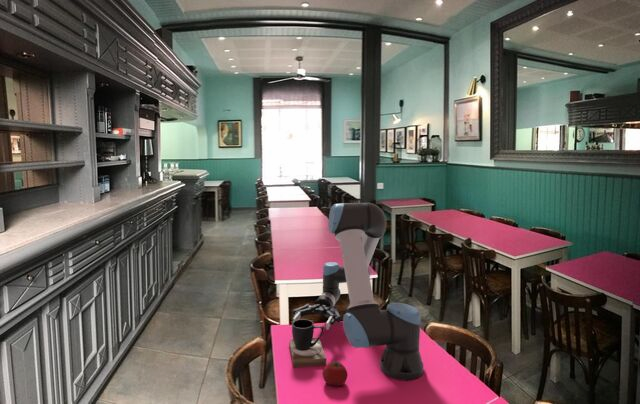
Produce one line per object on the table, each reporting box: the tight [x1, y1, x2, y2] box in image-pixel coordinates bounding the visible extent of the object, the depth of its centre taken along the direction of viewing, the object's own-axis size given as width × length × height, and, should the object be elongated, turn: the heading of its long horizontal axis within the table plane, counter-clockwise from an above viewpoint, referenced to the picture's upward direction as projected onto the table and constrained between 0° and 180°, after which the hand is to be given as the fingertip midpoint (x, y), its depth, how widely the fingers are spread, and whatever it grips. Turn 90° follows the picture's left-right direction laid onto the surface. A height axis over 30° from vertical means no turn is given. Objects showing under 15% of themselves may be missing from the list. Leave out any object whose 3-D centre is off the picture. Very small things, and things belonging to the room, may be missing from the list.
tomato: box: [322, 360, 348, 387], centre depth 130 cm, size 8×8×7 cm
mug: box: [291, 318, 325, 351], centre depth 148 cm, size 8×12×10 cm
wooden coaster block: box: [289, 337, 327, 368], centre depth 149 cm, size 16×12×3 cm
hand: (310, 324), depth 152 cm, fingers open, 13 cm apart
